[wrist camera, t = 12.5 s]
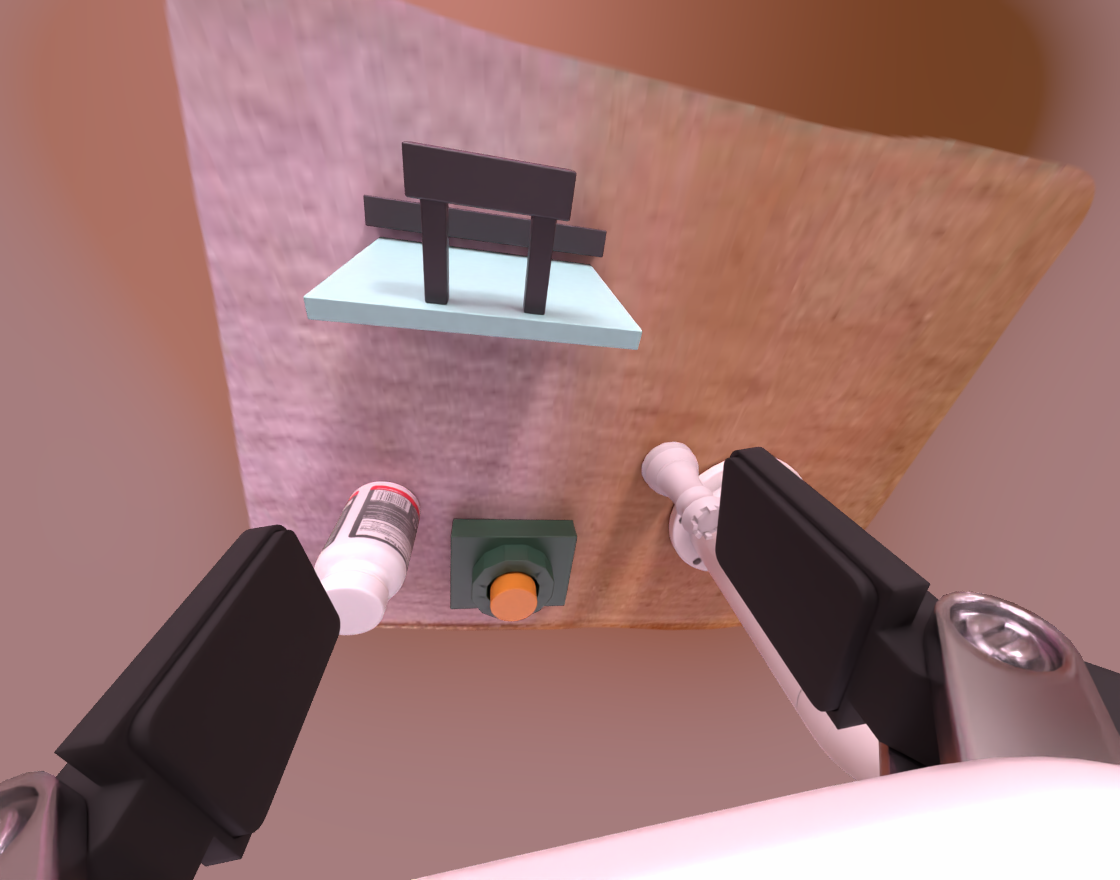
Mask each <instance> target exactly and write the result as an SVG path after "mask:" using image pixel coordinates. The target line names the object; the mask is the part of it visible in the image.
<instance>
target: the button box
mask: <svg viewBox="0 0 1120 880" xmlns="http://www.w3.org/2000/svg"><path fill="white" fill-rule="evenodd" d="M576 541H577V535H576V531H575V527H574V523H573V520H495V519H454V520H453V525H452V532H451V589H450V608H451V609H470V608H478V609H479V610H480V611H481V612H482V613H484V614H487V615H489V616H492V617H495V616H494V615H493V613H492V612H491V609H490V588H491V585H492V583H493V581H494V580H495V579H496V578H497V577H499V576H500V575H502V574H505V573H508V572H522V573H525V574H527V575H529V576H530V577H531V578H532V579H533V580H534V582H535V586H536V595H537V607H536V609H535V611H534V612H533V613H535V612H538V611H539V610H541V608H542V607H543V606H564V605H565V600H566V594H567V589H568V584H569V578H570V573H571V567H572V562H573V557H574V551H575V546H576ZM533 613H532V614H533ZM495 618H497V617H495ZM497 619H498V618H497Z"/></svg>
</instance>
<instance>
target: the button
mask: <svg viewBox="0 0 1120 880" xmlns="http://www.w3.org/2000/svg"><path fill="white" fill-rule="evenodd" d="M536 607H537V595H536V586H535V582H534V580H533V579H532V578H531V577H530V576H529V575H527V574H525V573H522V572H508V573H505V574H502V575H500V576H499V577H497V578H496V579H495V580H494V581H493V583H492V585H491V588H490V609H491V612H492V613H493V615H494V616H495V617H497V618H498V619H501V620H504V621H519V620H522V619H525V618H527V617H528V616H530V615H531V614H532V613H533V612H534V611H535V609H536Z"/></svg>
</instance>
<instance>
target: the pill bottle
mask: <svg viewBox="0 0 1120 880" xmlns="http://www.w3.org/2000/svg"><path fill="white" fill-rule="evenodd" d="M419 519H420V505H419V502H418V500H417V498H416V497H415V496H414V495H413V494H412V493H411V492H410V491H409V490H408V489H406V488H405V487H403V486H401V485H398V484H395V483H392V482H385V481H382V482H381V481H378V482H372V483H369V484H366V485H363V486H362V487H360V488H358V489H357V490H356V491H355V492H354V493H353V494H352V495H351V497H350V498H349V500H348V502H347V504H346V505H345V507H344V509H343V511H342V513H341V516H340V517H339V519H338V521H337V523H336V525H335V527H334V529H333V531H332V533H331V535H330V537H329V539H328V540H327V542H326V544H325V546H324V548H323V550H322V552H321V553H320V555H319V557H318V559H317V562H316V564H315V568H314V570H315V572H316V574H317V576H318V577H319V579H320V581H321V583H322V585H323V587H324V589H325V591H326V592H327V594H328V596H329V598H330V600H331V602H332V604H333V606H334V608H335V609H336V611H337V613H338V615H339V618H340V632H339V635H356V634H360V633H364V632H367V631H369V630H371V629H373V628H374V627H376V626H377V625H378V624H379V623H380V621H381V620H382V618H383V616H384V613H385V610H386V606H387V603H388V600H389V599H390V598H392V597H393V596H394V595H395V594H396V593H397V592H398V591H399V590H400V588H401V587H402V585H403V583H404V580H405V577H406V574H407V569H408V565H409V561H410V557H411V553H412V549H413V545H414V541H415V537H416V533H417V528H418V524H419Z"/></svg>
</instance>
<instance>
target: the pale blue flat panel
mask: <svg viewBox="0 0 1120 880" xmlns="http://www.w3.org/2000/svg"><path fill="white" fill-rule="evenodd" d="M402 155H403V171H404V187H405V195H406V196H407V197H410V198H417V199H420V205H421V228H422V242H416V241H409V240H401V239H394V238H386V237H379V238H378V239H377V240H375V241H374V242H373V243H372V244H370V245H369V246H368V247H366V248H365V249H364V250H363V251H361V252H360V253H359V254H357V255H356V256H355V257H354V258H352V259H351V260H350V261H348V262H347V263H346V264H345V265H343V266H342V267H341V268H339V269H338V270H337V271H336V272H334V273H333V274H332V275H330V276H329V277H328V278H327V279H325V280H324V281H323V282H321V283H320V284H319V285H318V286H316V287H315V288H314V289H312V290H311V291H310V292H309V293H307V294H306V295H305V296H304V297H303V298H304V302H305V307H306V312H307V316H308V319H311V320H322V321H332V322H343V323H354V324H365V325H376V326H386V327H397V328H408V329H419V330H429V331H440V332H451V333H462V334H472V335H483V336H494V337H505V338H516V339H526V340H537V341H548V342H559V343H569V344H580V345H591V346H602V347H613V348H623V349H634V350H637V349H638V346H639V342H640V339H641V335H642V330H641V329H640V327H639V326H638V325H637V324H636V322H635V321H634V320H633V319H632V317H631V316H630V315H629V313H628V312H627V311H626V310H625V308H624V307H623V306H622V304H621V303H620V302H619V301H618V299H617V298H616V297H615V296H614V294H613V293H612V292H611V290H610V289H609V288H608V287H607V285H606V284H605V283H604V281H603V280H602V279H601V278H600V276H599V275H598V274H597V273H596V271H595V270H594V269H593V267H592V266H591V265H590V264H584V263H576V262H568V261H561V260H553V259H552V253H553V245H554V237H555V229H556V221H557V220H563V221H569V220H570V216H571V209H572V202H573V195H574V188H575V181H576V172H575V171H572V170H569V169H564V168H559V167H553V166H547V165H541V164H536V163H530V162H524V161H519V160H513V159H507V158H502V157H496V156H490V155H484V154H479V153H473V152H467V151H462V150H456V149H450V148H445V147H439V146H433V145H427V144H422V143H416V142H407V141H404V142H402ZM448 203H450V204H456V205H463V206H470V207H476V208H483V209H490V210H496V211H503V212H510V213H516V214H523V215H529V216H531V226H530V237H529V248H528V256H523V255H515V254H508V253H500V252H492V251H485V250H477V249H470V248H462V247H454V246H449V222H448Z"/></svg>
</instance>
